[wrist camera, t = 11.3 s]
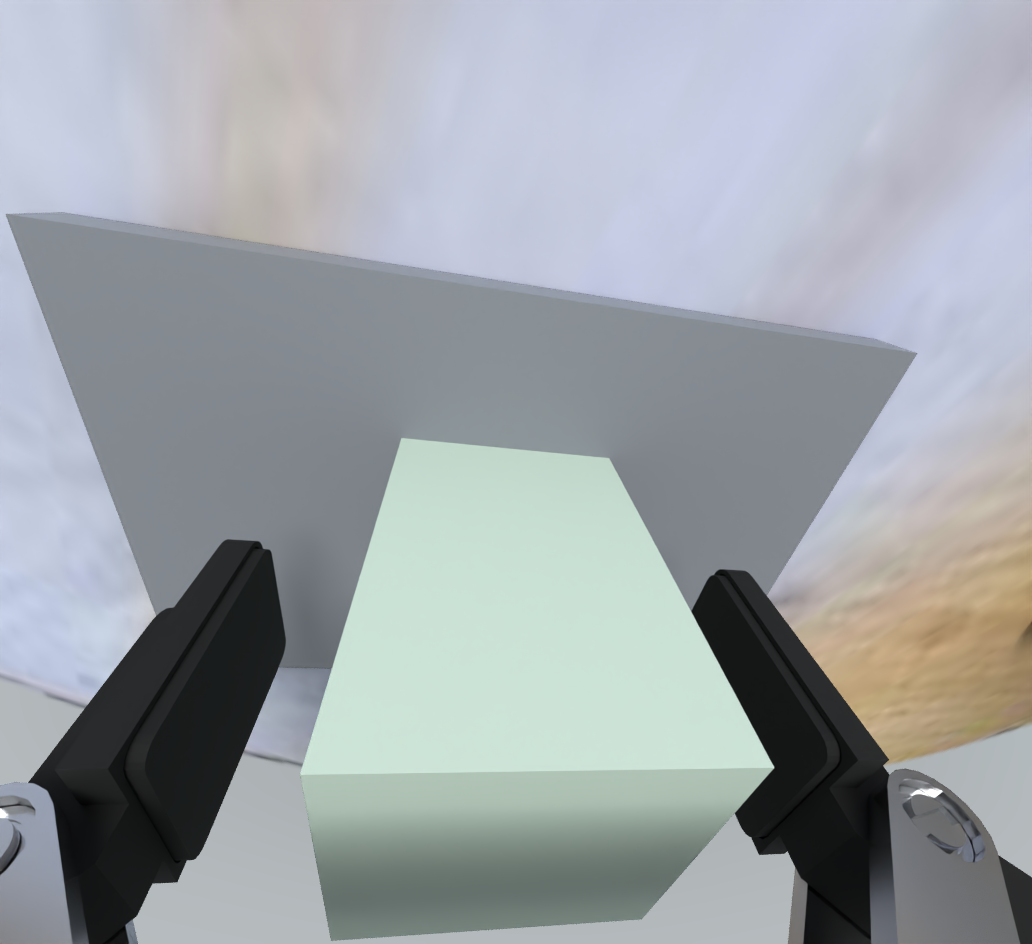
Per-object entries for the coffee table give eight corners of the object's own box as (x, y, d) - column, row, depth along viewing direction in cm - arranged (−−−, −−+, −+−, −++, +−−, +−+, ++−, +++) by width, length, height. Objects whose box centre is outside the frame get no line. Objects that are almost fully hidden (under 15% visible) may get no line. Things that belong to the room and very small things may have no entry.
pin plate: (876, 339, 11) (1067, 404, 8) (702, 648, 17) (762, 764, 14) (62, 212, 8) (-241, 220, 5) (195, 632, 14) (105, 773, 11)
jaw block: (609, 458, 11) (775, 767, 5) (566, 600, 13) (641, 919, 7) (401, 437, 10) (300, 774, 4) (397, 592, 13) (330, 940, 7)
